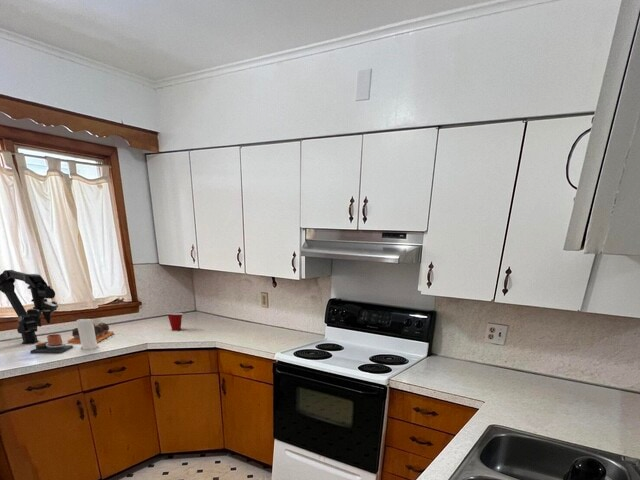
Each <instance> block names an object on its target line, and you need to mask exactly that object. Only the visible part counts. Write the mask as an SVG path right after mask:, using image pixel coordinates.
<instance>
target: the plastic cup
mask: <svg viewBox="0 0 640 480" xmlns="http://www.w3.org/2000/svg"><path fill="white" fill-rule="evenodd" d="M183 314H184V313H182V312H174V311H173V312H167V313H166V315H167V317H168V319H169V325H170V328H171V331H174V332H175V331H181V330H182V319H183Z"/></svg>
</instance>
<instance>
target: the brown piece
mask: <svg viewBox="0 0 640 480" xmlns="http://www.w3.org/2000/svg"><path fill="white" fill-rule="evenodd" d="M93 325H94V330H95V336H96V341H97V344H98V343H99V342H102V341H103V340H105V339H106V338H109V337H110V336H112V335H114V334H115V333H114V331H113V330H112V331H111V330H110V325H108V324H107V323H106V322H99V323H98V324H95V323H93ZM71 336H72V338H69V339H68V340H67V343H68V344H81V341H80V336H79V331H78V327H75V328H73V330H72V332H71Z"/></svg>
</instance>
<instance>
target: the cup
mask: <svg viewBox="0 0 640 480" xmlns="http://www.w3.org/2000/svg"><path fill="white" fill-rule="evenodd" d="M93 324H94V320H93V319H92V318H80V319H79V318H78V319H77V320H76V326H77V328H78V331H79V336H80V341H81V343H80V347H81V349H82V350H92V349H93V350H94V349H97V348H98V343H97V341H96V336H95V330H94V325H95V324H94V325H93Z"/></svg>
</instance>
